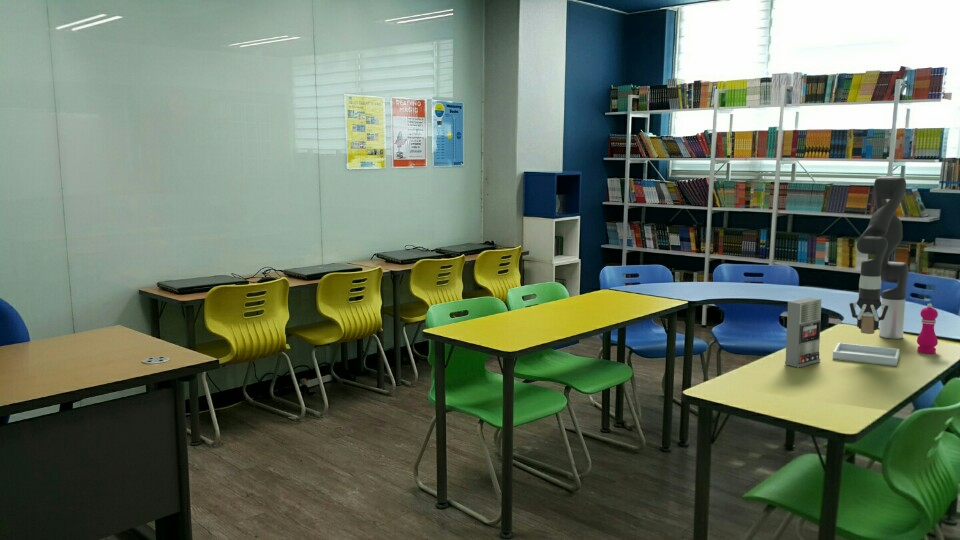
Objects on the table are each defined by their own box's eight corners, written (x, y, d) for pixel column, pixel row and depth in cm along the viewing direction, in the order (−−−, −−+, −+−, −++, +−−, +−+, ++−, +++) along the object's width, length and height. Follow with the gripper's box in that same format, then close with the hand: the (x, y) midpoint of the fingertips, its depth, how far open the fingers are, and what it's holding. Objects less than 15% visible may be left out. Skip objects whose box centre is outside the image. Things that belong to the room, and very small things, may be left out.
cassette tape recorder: (799, 368, 275) (801, 304, 271) (784, 364, 280) (787, 301, 276) (820, 362, 282) (823, 299, 278) (806, 358, 287) (809, 297, 284)
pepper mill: (940, 354, 288) (943, 305, 285) (920, 354, 290) (923, 305, 287) (932, 349, 295) (936, 302, 292) (913, 349, 297) (916, 301, 294)
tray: (838, 349, 299) (838, 342, 299) (899, 356, 288) (899, 348, 287) (832, 358, 286) (833, 351, 286) (896, 366, 274) (896, 358, 274)
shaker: (861, 330, 289) (862, 310, 288) (875, 331, 286) (876, 312, 285) (859, 333, 285) (860, 313, 283) (874, 334, 282) (875, 314, 281)
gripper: (891, 286, 282) (889, 329, 284) (850, 284, 290) (848, 325, 292) (890, 289, 276) (887, 333, 278) (848, 287, 283) (846, 329, 286)
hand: (867, 329), depth 285 cm, fingers closed on shaker, 4 cm apart
